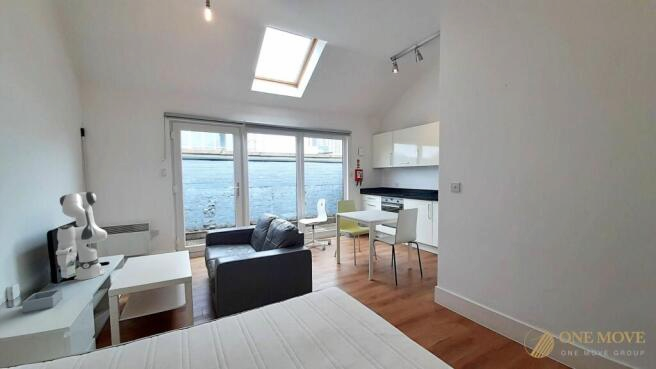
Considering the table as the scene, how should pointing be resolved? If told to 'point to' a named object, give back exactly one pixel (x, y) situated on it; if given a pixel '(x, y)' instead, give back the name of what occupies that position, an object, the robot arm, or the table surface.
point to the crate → (42, 300)
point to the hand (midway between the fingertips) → (68, 267)
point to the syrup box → (70, 268)
